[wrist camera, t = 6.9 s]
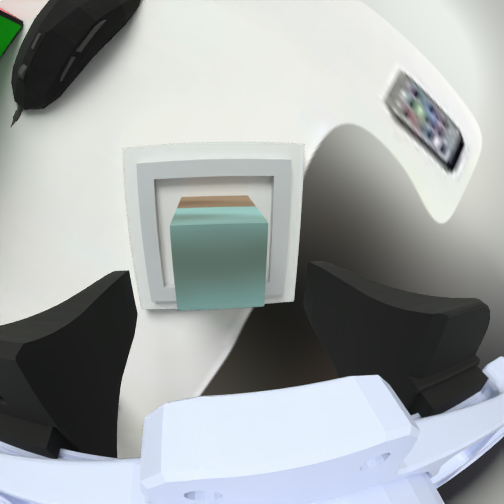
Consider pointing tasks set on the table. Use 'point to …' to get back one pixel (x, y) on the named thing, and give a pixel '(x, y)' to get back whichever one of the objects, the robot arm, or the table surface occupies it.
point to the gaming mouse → (63, 47)
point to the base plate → (211, 184)
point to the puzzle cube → (8, 29)
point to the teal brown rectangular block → (218, 253)
